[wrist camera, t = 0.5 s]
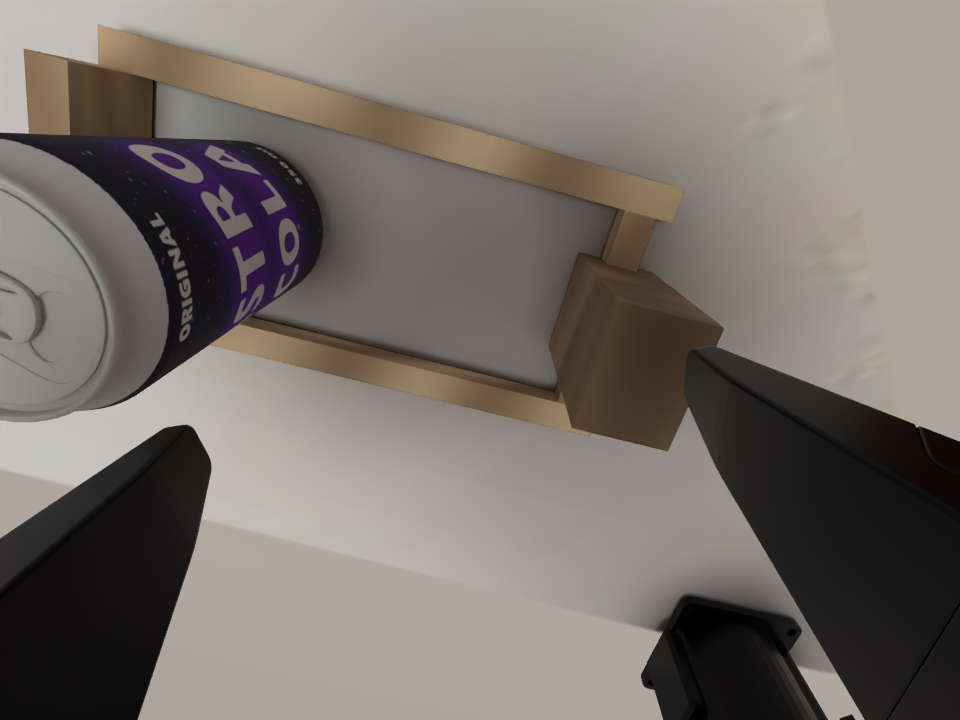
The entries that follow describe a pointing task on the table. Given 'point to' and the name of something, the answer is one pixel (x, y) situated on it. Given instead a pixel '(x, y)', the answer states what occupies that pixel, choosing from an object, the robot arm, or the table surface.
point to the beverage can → (135, 259)
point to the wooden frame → (594, 282)
